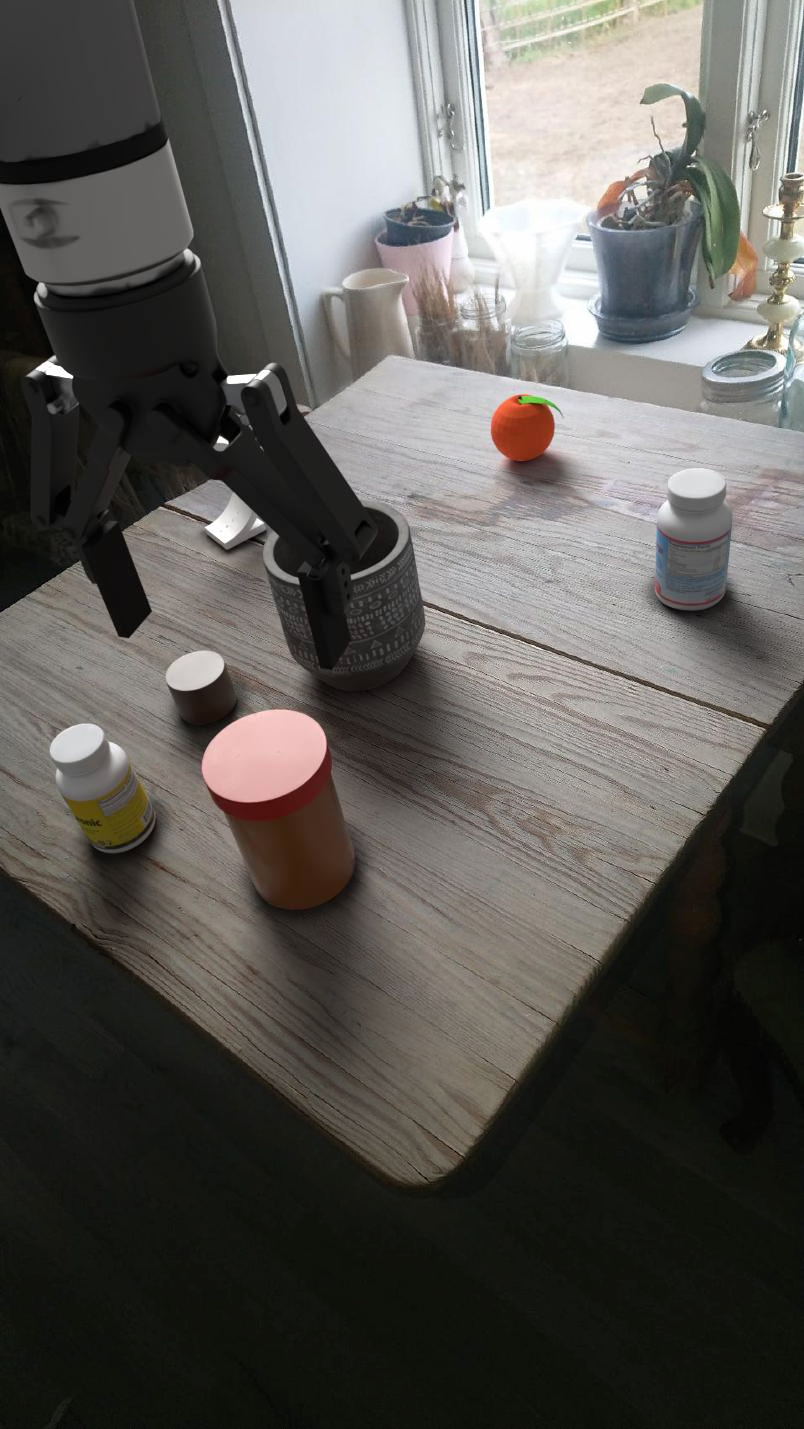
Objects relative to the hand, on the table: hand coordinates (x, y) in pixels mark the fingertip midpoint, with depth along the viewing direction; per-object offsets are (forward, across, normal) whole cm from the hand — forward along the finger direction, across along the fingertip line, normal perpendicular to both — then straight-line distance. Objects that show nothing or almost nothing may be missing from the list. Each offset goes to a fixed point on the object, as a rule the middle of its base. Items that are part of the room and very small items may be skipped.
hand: (231, 639), depth 57 cm
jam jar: (+21, 0, -1) cm, 21 cm away
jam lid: (+9, 0, -1) cm, 9 cm away
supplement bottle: (+21, -15, -1) cm, 26 cm away
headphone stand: (+21, -26, +39) cm, 51 cm away
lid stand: (+21, -16, +14) cm, 29 cm away
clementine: (+20, +1, +58) cm, 61 cm away
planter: (+21, -4, +22) cm, 30 cm away
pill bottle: (+20, +22, +36) cm, 47 cm away
